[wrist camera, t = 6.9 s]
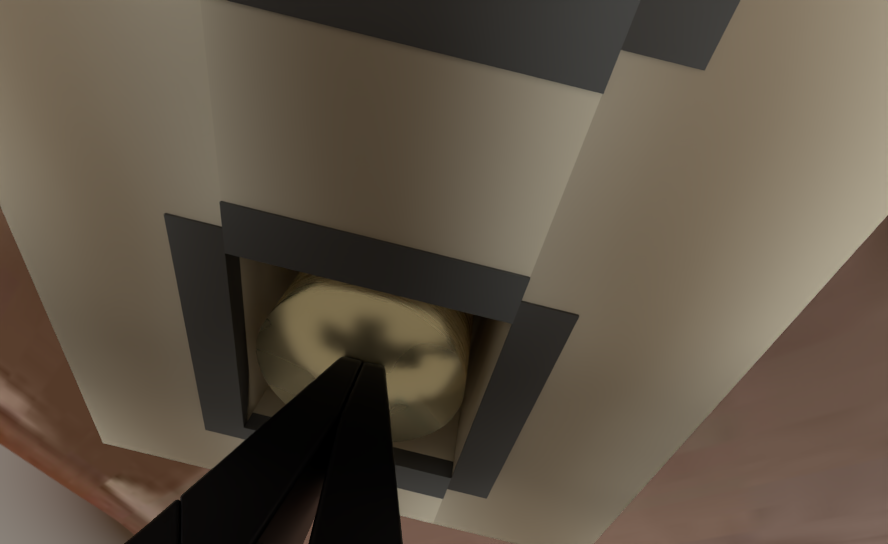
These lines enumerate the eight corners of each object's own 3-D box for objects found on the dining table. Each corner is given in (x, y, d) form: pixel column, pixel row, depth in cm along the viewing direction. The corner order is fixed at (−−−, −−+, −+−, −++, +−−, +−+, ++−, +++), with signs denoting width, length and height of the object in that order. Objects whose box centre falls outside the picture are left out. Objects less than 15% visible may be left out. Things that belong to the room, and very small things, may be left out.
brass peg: (499, 196, 11) (489, 325, 7) (464, 312, 14) (441, 459, 10) (346, 157, 11) (249, 267, 7) (337, 280, 14) (260, 415, 10)
